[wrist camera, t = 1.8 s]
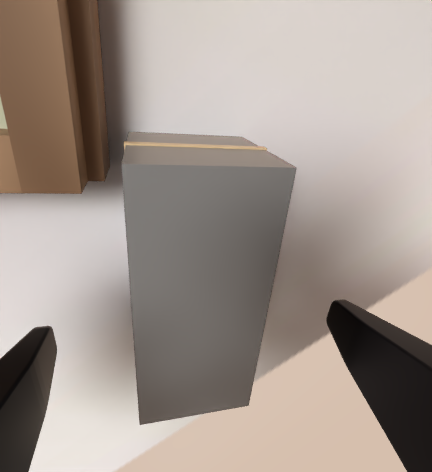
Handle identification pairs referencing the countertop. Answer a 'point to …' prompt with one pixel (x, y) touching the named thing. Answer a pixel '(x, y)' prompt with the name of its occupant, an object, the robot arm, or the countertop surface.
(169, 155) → the glasses case
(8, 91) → the wooden picture frame
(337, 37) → the countertop surface
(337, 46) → the countertop surface
